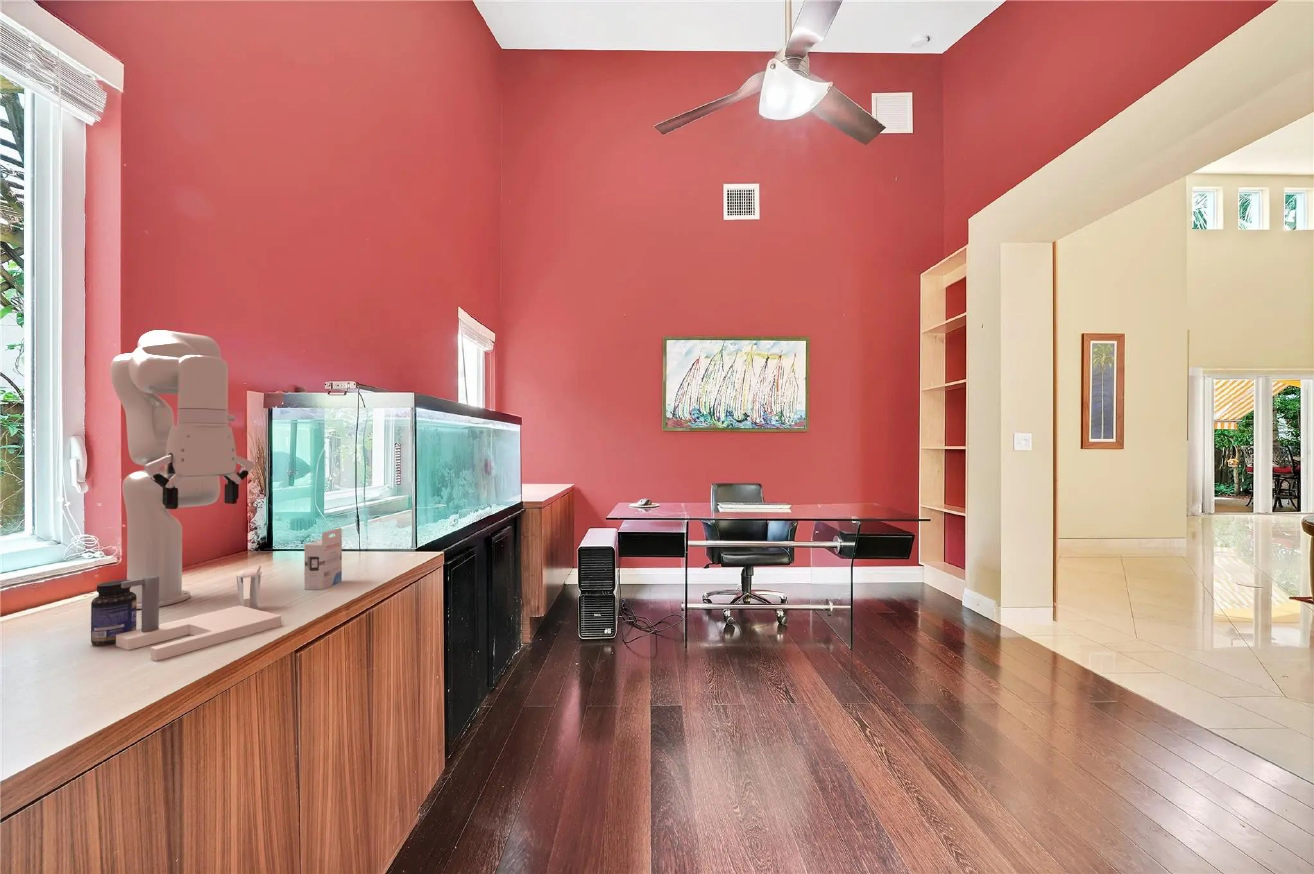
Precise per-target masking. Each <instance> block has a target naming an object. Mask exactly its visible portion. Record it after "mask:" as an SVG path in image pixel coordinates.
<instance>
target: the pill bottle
mask: <svg viewBox="0 0 1314 874" xmlns="http://www.w3.org/2000/svg"><path fill="white" fill-rule="evenodd" d="M125 581H131V580H127V579H119V580H118V579H116V580H110V581H106V582H105V581H104V582H100V583H98V584H97V585H96V592H97V594H98V596H96V597H95V598H93V599H92V601H91V602H90V643H91V644H92V645H94V646H108V645H114V644H115V645H116V635H117V634H121V633H126V632H130V631H134V630H137V620H138V619H137V610H138V609H137V596H136V594H135V593H133V592H130V588H131V587H127V588H121V582H125Z"/></svg>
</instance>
